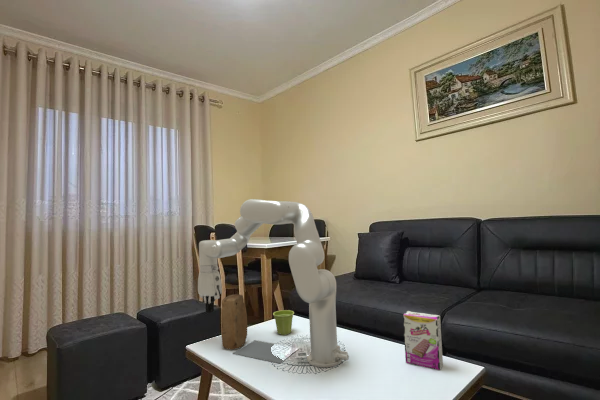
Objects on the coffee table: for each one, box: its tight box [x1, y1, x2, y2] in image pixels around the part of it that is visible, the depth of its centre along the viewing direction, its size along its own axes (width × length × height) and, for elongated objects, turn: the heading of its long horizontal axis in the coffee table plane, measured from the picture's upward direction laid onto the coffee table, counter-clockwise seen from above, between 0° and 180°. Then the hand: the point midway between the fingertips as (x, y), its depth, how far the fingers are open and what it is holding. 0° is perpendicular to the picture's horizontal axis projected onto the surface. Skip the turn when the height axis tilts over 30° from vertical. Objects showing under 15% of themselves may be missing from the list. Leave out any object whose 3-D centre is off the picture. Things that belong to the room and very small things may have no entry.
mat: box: [232, 339, 284, 365], centre depth 125 cm, size 22×14×1 cm, turn 61°
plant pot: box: [272, 309, 295, 336], centre depth 144 cm, size 9×9×9 cm
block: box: [220, 294, 248, 350], centre depth 133 cm, size 11×8×20 cm
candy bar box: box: [402, 310, 444, 371], centre depth 109 cm, size 11×5×16 cm, turn 56°
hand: (209, 311), depth 139 cm, fingers closed
